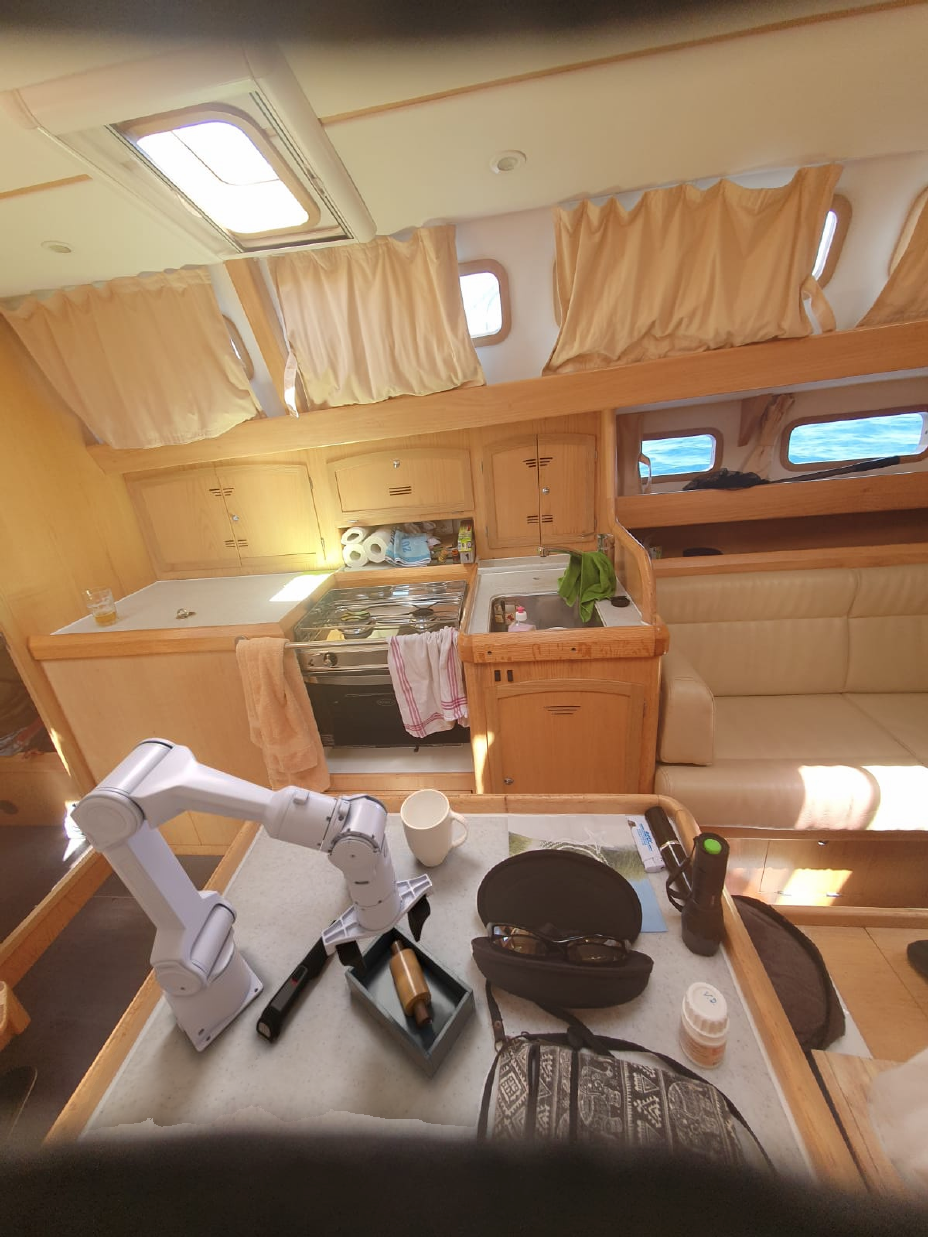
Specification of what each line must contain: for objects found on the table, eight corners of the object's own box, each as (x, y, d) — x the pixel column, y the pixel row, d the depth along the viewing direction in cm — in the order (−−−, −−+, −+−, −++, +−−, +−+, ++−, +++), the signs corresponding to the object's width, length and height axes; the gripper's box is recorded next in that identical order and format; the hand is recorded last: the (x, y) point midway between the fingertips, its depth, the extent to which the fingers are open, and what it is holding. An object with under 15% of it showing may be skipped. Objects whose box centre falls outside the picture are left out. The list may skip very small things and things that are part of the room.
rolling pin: (407, 1039, 59) (415, 1016, 58) (381, 958, 68) (387, 937, 67) (434, 1029, 61) (442, 1006, 60) (404, 951, 70) (411, 931, 69)
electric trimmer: (349, 936, 73) (346, 924, 72) (274, 1046, 60) (267, 1033, 59) (332, 927, 75) (328, 914, 73) (255, 1031, 62) (248, 1018, 61)
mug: (405, 875, 82) (395, 827, 77) (414, 834, 90) (406, 789, 85) (468, 877, 80) (462, 829, 75) (472, 835, 88) (467, 789, 83)
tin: (431, 1080, 56) (427, 1061, 54) (350, 991, 66) (344, 973, 64) (475, 1008, 62) (473, 989, 60) (395, 937, 72) (391, 919, 70)
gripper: (413, 834, 62) (425, 899, 68) (307, 888, 56) (330, 954, 62) (435, 874, 57) (446, 941, 62) (320, 939, 51) (344, 1006, 56)
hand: (389, 951), depth 62 cm, fingers open, 7 cm apart
